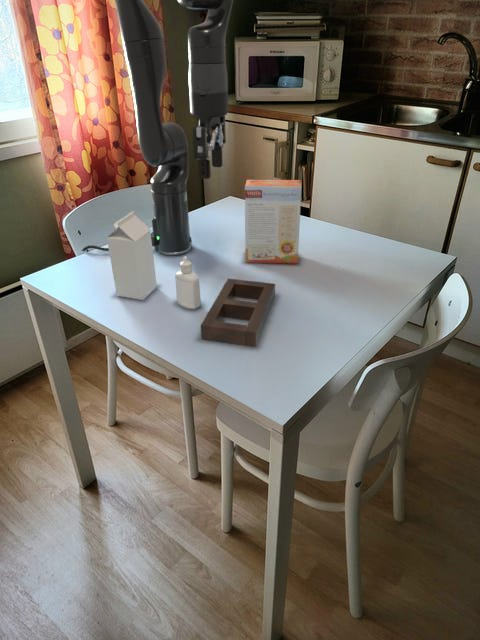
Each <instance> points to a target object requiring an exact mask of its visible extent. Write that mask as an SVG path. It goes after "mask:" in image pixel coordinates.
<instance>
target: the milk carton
mask: <svg viewBox="0 0 480 640" xmlns="http://www.w3.org/2000/svg"><path fill="white" fill-rule="evenodd" d="M113 227H114V228H115V229H114V230H113V231H112V232H111V233H110V234H109V235H108V236H106V242H107V248H109V251H108V253H109V258H110V265H111V270H112V276H113V282H114V287H115V293H116V296H117V297H123V298H127V299H132V300H139V301H144V300H145V299H146V298H147V297H148V296H149V295H150V294H152V292H153V291H154V290H155V289H157V287H158V283H157V275H156V268H155V267H156V266H155V260H154V259H155V258H154V252H153V251H154V250H153V246H152V241H151V233H152V232H151V228H149V227H148V226H147V224H145V223H144V221H142V220H141V219H140V218H139V217H138V216H137V215H136V211H135V210H132V211H131V212H130V213H128V214H127V215H125V216H124V217H122V218H121V219H119V220H118V221H116V222H115V223H114V224H113Z"/></svg>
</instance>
